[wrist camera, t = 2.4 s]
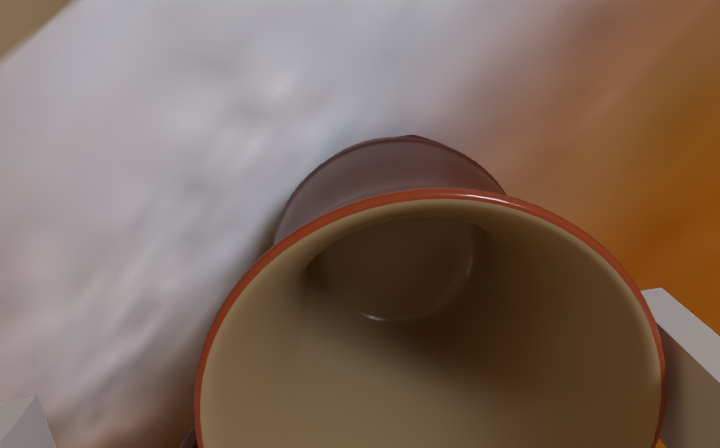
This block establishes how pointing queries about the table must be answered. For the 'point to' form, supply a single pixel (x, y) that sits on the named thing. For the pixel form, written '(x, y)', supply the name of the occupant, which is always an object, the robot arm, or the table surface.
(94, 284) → the table surface
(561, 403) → the mug
